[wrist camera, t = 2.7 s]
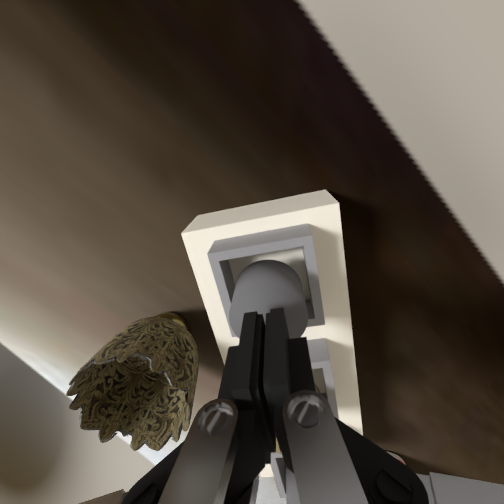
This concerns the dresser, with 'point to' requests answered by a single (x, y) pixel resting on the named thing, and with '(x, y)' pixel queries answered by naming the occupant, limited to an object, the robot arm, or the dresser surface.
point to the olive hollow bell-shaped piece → (140, 383)
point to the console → (312, 278)
